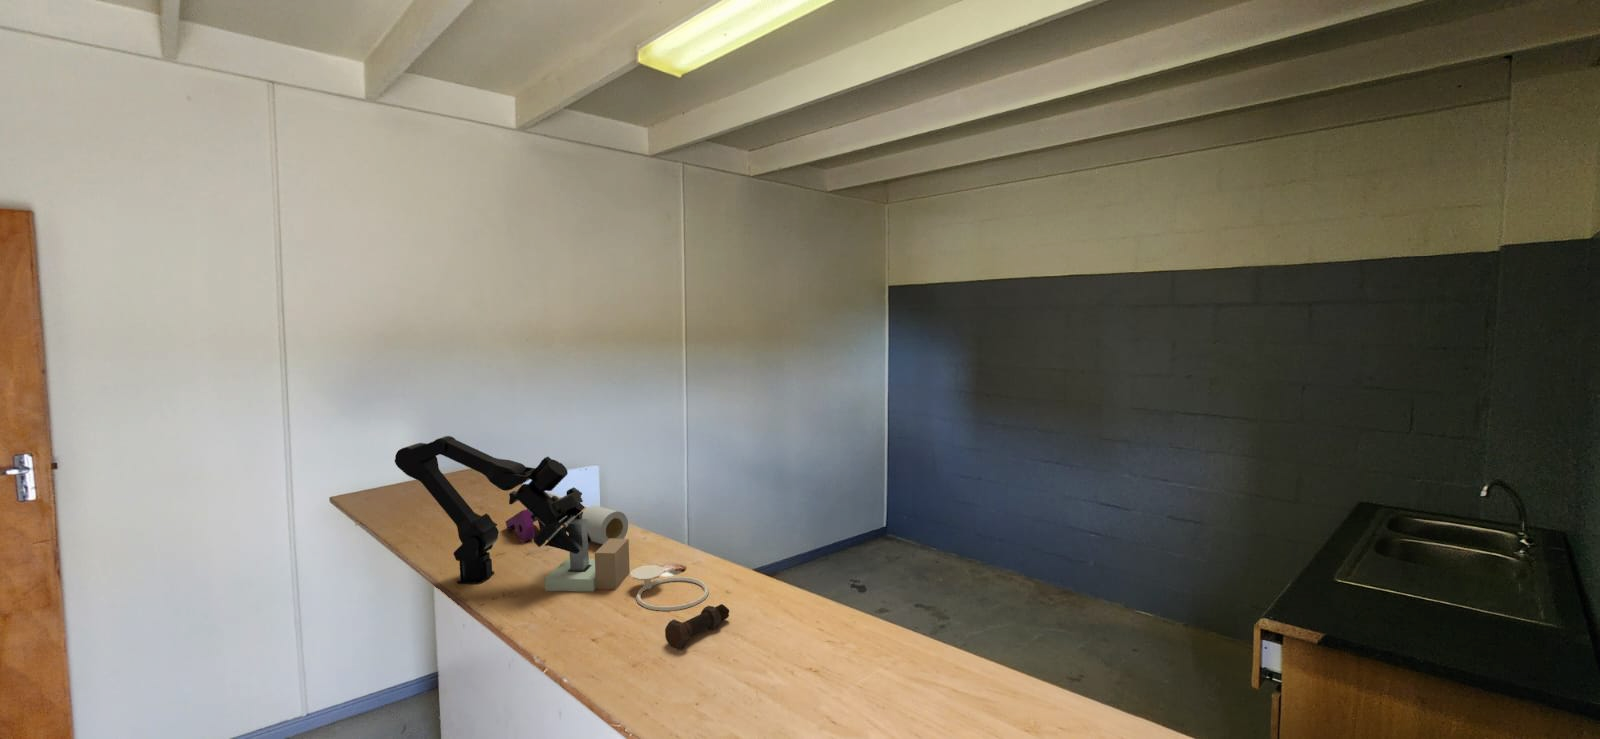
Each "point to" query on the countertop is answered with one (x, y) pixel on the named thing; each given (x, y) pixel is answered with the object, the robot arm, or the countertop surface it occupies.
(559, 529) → the robot arm
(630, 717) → the countertop surface
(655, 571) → the hand towel holder
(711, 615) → the bolt
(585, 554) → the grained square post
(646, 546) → the countertop surface
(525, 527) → the mounting bracket
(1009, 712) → the countertop surface
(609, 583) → the square holed base
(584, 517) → the toilet paper
